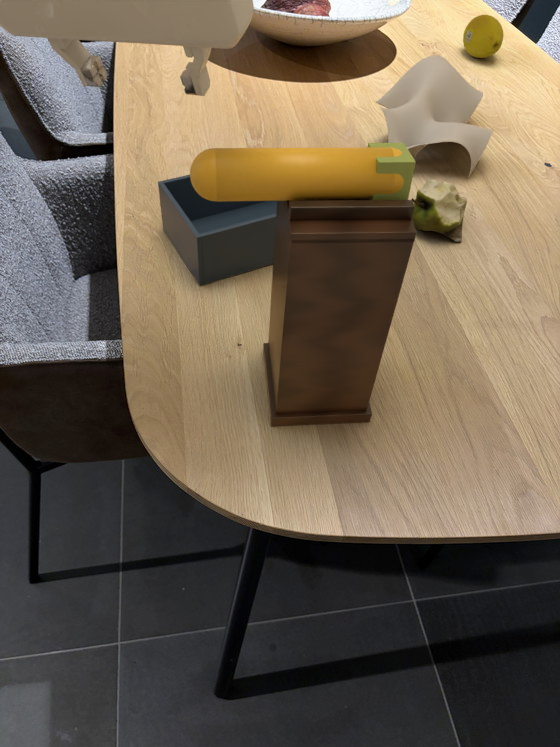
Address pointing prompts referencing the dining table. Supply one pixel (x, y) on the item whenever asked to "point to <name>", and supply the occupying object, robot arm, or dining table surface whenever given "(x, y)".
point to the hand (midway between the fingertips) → (146, 86)
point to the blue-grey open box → (216, 231)
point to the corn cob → (304, 173)
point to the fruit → (439, 209)
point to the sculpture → (434, 109)
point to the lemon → (483, 36)
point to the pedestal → (332, 305)
